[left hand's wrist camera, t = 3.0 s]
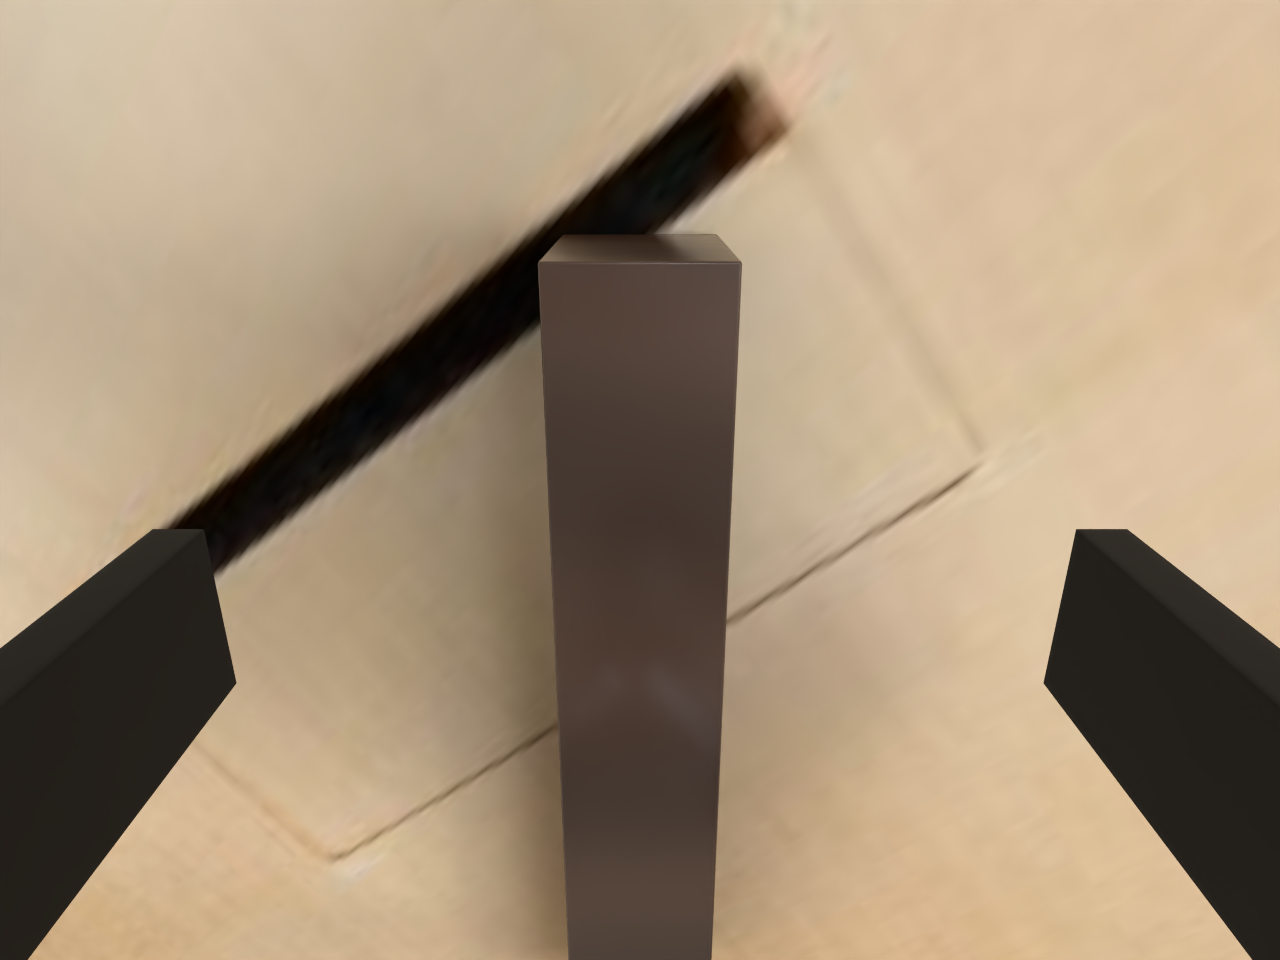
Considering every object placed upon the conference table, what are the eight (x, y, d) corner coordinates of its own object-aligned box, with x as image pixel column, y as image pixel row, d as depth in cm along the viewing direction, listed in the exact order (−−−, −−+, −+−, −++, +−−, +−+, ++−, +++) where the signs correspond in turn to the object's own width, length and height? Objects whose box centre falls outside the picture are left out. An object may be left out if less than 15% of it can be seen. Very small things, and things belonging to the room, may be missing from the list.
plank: (562, 234, 27) (537, 261, 20) (717, 234, 27) (742, 261, 20) (586, 950, 39) (575, 1113, 32) (693, 950, 39) (704, 1113, 32)
